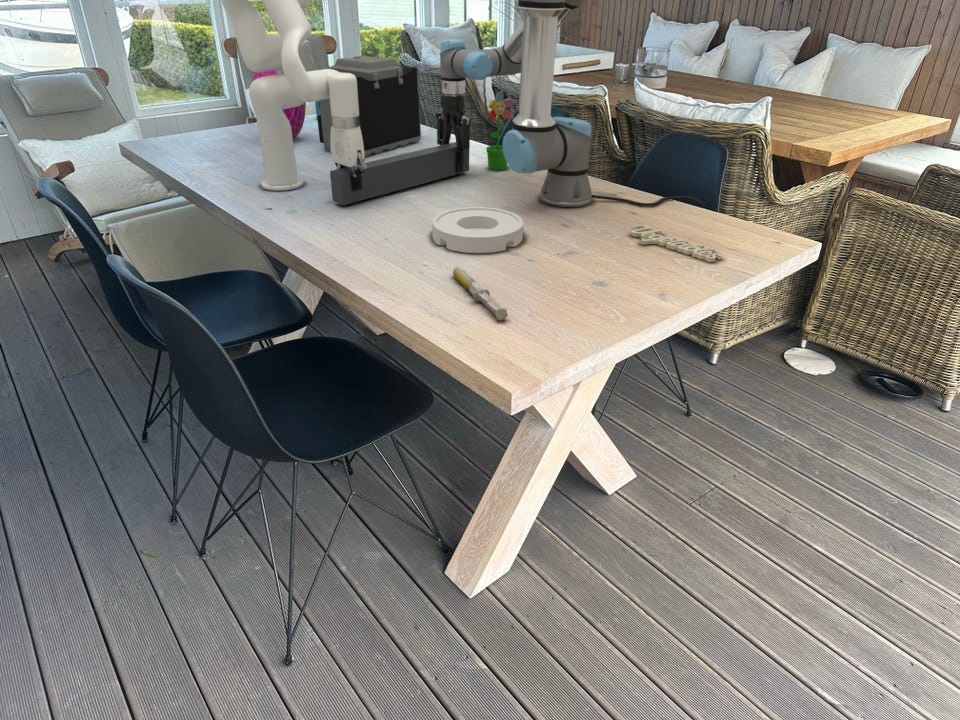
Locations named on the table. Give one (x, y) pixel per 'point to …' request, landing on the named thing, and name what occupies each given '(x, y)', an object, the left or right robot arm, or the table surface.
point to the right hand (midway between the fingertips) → (453, 169)
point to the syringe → (479, 293)
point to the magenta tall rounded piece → (292, 114)
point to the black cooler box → (379, 103)
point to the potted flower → (496, 151)
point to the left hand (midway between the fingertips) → (351, 187)
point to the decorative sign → (674, 243)
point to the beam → (397, 173)
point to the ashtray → (477, 229)
